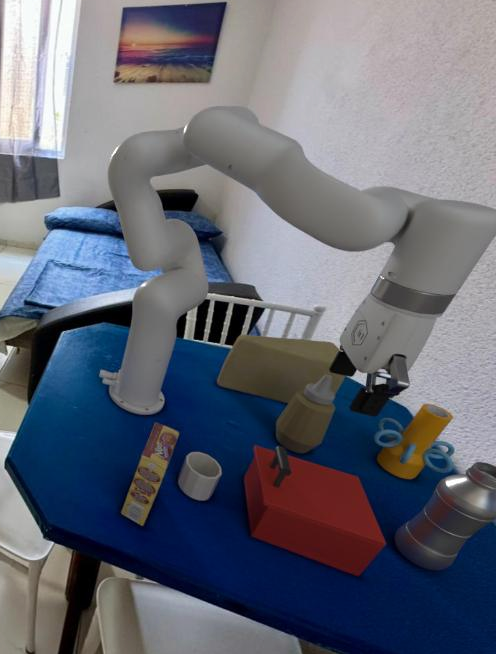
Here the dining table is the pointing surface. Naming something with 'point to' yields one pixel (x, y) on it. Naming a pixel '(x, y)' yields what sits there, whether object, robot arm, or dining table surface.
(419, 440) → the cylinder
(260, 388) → the cheese
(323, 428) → the squeeze bottle
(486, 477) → the silver metal bottle
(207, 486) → the container
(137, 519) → the candy box
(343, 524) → the red box lid
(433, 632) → the dining table surface
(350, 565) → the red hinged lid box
